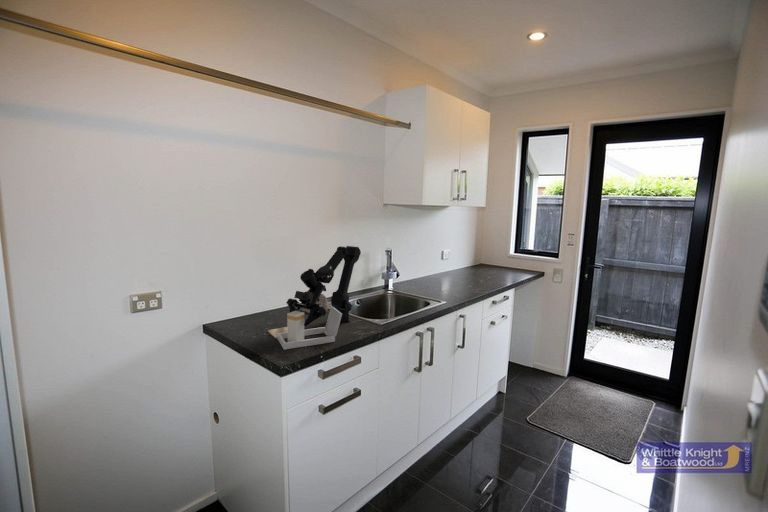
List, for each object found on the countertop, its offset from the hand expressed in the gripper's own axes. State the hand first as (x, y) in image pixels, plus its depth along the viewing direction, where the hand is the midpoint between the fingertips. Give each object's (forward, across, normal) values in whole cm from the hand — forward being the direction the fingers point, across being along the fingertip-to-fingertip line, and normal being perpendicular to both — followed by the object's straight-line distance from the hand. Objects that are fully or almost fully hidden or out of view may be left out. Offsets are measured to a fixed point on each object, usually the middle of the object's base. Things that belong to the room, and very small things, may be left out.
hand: (296, 323), depth 157 cm
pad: (+2, -13, +9) cm, 16 cm away
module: (+6, 0, +6) cm, 8 cm away
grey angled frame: (+2, +3, +9) cm, 10 cm away
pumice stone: (-21, -22, +33) cm, 45 cm away
